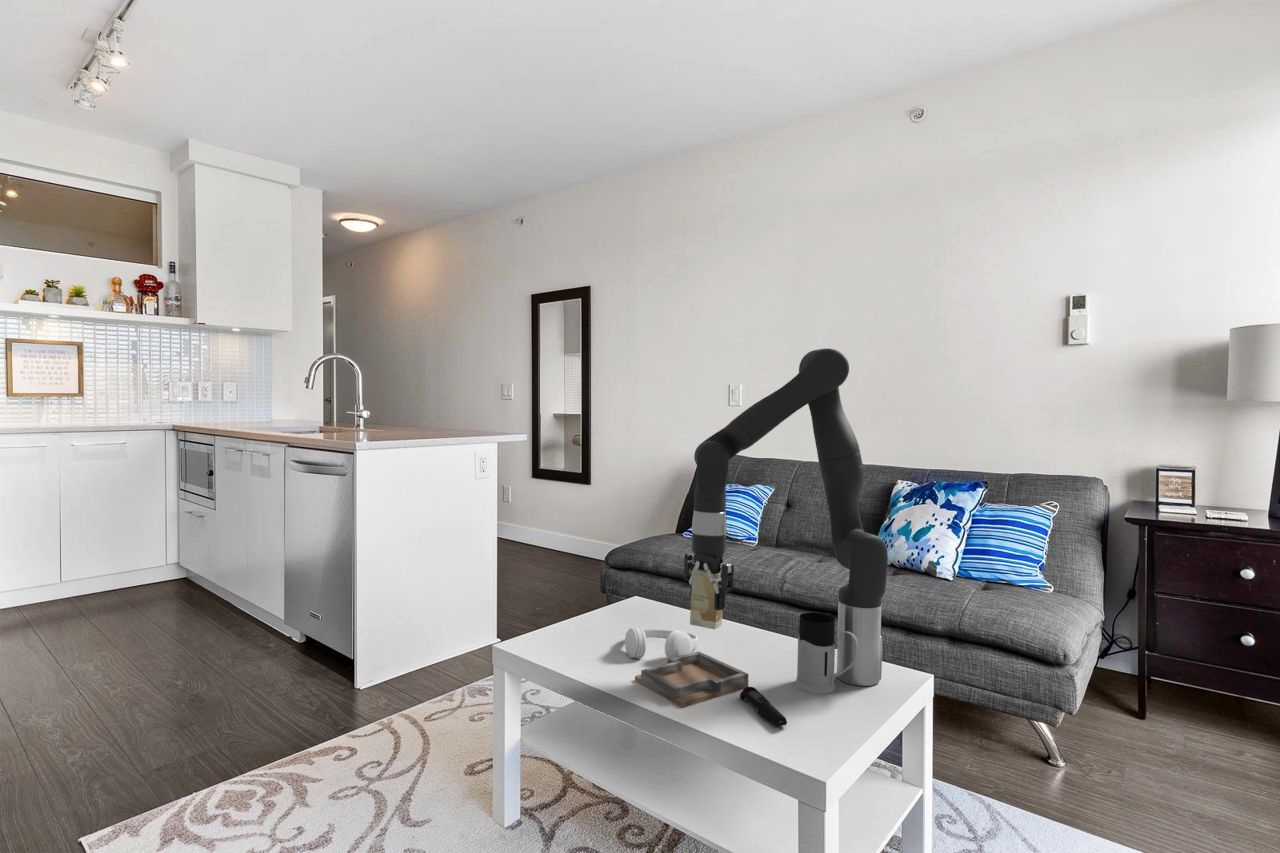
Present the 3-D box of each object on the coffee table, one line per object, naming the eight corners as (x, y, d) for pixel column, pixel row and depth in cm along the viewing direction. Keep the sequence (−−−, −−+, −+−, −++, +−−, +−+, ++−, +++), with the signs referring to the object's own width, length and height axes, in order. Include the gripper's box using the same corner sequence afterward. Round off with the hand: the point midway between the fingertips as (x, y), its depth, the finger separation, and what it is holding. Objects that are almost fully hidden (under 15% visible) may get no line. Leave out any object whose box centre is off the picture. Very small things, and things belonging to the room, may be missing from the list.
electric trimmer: (773, 734, 125) (773, 717, 124) (738, 699, 139) (738, 684, 139) (791, 732, 126) (791, 715, 126) (754, 697, 140) (755, 682, 140)
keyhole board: (698, 663, 158) (698, 651, 158) (748, 687, 145) (748, 673, 145) (635, 680, 147) (635, 666, 147) (682, 707, 134) (682, 692, 134)
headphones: (694, 634, 156) (700, 622, 176) (617, 628, 160) (632, 617, 179) (692, 666, 155) (699, 651, 175) (615, 659, 159) (631, 645, 178)
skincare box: (689, 625, 148) (690, 570, 147) (696, 620, 151) (698, 566, 151) (716, 630, 145) (718, 574, 144) (723, 625, 148) (725, 570, 148)
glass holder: (809, 674, 153) (811, 609, 153) (866, 694, 142) (868, 624, 142) (786, 684, 147) (788, 616, 147) (844, 705, 137) (846, 632, 136)
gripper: (744, 534, 144) (742, 611, 144) (700, 525, 156) (698, 595, 156) (718, 537, 140) (716, 616, 140) (675, 527, 151) (673, 600, 152)
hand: (707, 605), depth 148 cm, fingers closed on skincare box, 7 cm apart
